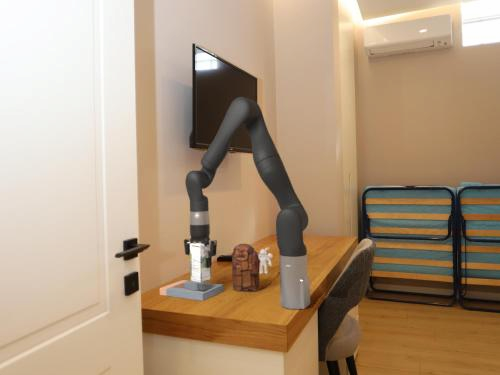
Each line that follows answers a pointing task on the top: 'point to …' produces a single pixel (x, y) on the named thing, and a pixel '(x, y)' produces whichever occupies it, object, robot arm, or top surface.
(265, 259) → the flower shoulder figurine
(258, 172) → the robot arm
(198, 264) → the syrup box
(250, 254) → the wooden figurine
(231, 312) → the top surface
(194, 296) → the keyhole board
